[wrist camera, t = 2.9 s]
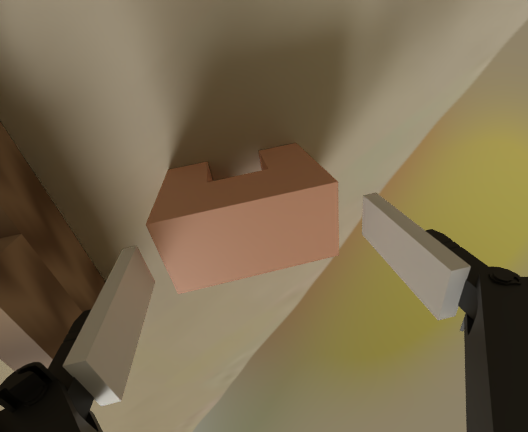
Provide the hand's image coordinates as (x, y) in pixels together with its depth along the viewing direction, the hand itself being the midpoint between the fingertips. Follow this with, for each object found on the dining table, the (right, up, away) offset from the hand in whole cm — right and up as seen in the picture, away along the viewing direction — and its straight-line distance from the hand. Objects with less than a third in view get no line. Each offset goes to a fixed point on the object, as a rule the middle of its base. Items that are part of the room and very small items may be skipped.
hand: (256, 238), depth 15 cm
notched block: (-2, +4, +6) cm, 7 cm away
